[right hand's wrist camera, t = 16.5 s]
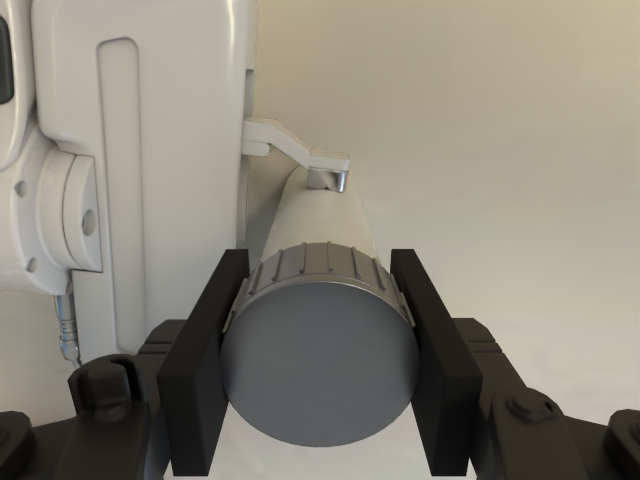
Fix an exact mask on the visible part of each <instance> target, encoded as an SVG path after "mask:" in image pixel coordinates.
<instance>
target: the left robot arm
mask: <svg viewBox="0 0 640 480" xmlns="http://www.w3.org/2000/svg"><path fill="white" fill-rule="evenodd" d="M258 22H259V4H258V1H257V0H0V289H1V290H13V291H22V292H30V293H39V294H48V295H54V301H55V309H56V314H57V318H58V321H59V325H60V330H61V336H60V349H61V352H62V355H63V357H64V358H65V359H66V360H71V361H72V363H73V365H74V366H75V368H76V369H78V368H79V367H81V366H82V365H83V364H85V363H87V362H89V361H91V360H94V359H96V358H98V357H102V356H106V355H110V354H123V353H125V354H129V355H133V356H135V355H136V354H138V351H139V349H140V348H141V346H142V345H143V344H144V342H145V340H146V339H147V337H148V336H149V334H150V333H151V331H152V330H153V329H154V328H155V327H157V326H158V325H160V324H161V323H162V322H164V321H165V320H166V319H188V317H189V315H190V314H191V312H192V310H193V308H194V306H195V304H196V303H197V301H198V299H199V297H200V295H201V294H202V292H203V290H204V288H205V286H206V285H207V283H208V281H209V279H210V277H211V275H212V274H213V272H214V270H215V268H216V266H217V265H218V263H219V261H220V259H221V257H222V256H223V254H224V252H225V250H226V249H244V241H245V225H246V210H247V194H248V179H249V163H250V155H251V156H260V157H267V156H268V155H269V154H270V152H271V151H272V150H273V148H274V146H275V147H276V148H277V149H279V150H280V151H282V152H283V153H284V154H286V155H287V156H289V157H290V158H291V159H293V160H294V161H296V162H297V163H298V164H300V165H301V166H302V167H304V168H305V169H307V170H308V178H307V188H310V189H317V190H320V189H324V188H326V187H327V188H328V189H329V190H330V191H335V192H344V191H345V189H346V183H347V178H348V172H349V165H350V157H349V155H347V154H344V153H339V152H331V151H323V150H315V149H311V146H310V145H309V144H307V143H306V142H305V141H303V140H302V139H301V138H300V137H298V136H297V135H296V134H294V133H293V132H292V131H291V130H289V129H288V128H287V127H285V126H284V125H283V124H281V123H280V122H279V121H278V120H274V119H266V118H258V117H252V116H253V101H254V85H255V69H256V54H257V38H258ZM308 167H309V168H308ZM80 357H81V360H80Z"/></svg>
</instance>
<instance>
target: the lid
mask: <svg viewBox="0 0 640 480" xmlns="http://www.w3.org/2000/svg"><path fill="white" fill-rule="evenodd" d="M415 329H417V328H416V325H415V322H414V320H413V317H412V315H411V312H410V310H409V307H408V304H407V302H406V299H405V297H404V294H403V292H401V293H400V292H399V289H398V286H397V284H396V281H395V278H394V276H393V274H392V273H391V274H389V273H388V272H387V271H386V270H385V269H384V268H383V267H382V266H381V265H380V264H379V263H378V261H377V259H376V258H375V257H374V258H373V259H372V258H371V257H369V256H368V255H366V254H364V253H362V252H360V251H358V250H356V247H353V246H352V248H350V247H347V246H343V245H339V244H333V243H331V241H327V243H308V244H306V242H302V244H301V245H297V246H293V247H289V248H287V249H284V250H282V249H279V250H278V252H277V253H276V254H274V255H272V256H271V257H269V258H268V259H266V260H265V261H264V262H261V261H260V262H259V263H258V264H257V267H256V269H255V270H254V271H253V272H252V273H251V274H250V276H249V277H248V278H247V279H246V278H244V280H243V282H242V285H241V287H240V290H239V292H238V295H237V298H235V300H234V303H233V305H232V308H231V311H230V313H229V316H228V318H227V321H226V324H225V326H224V329H223V331H222V333H223V335H224V337H223V340H222V343H221V346H220V351H219V359H220V369H221V379H222V387H223V390H224V392H225V394H226V396H227V398H228V400H229V401H230V403H231V405H232V406H233V408H234V409H235V410H236V411H237V412H238V413H239V415H240V416H241V417H242V418H243V419H245V420H246V421H247V422H248V423H249V424H250V425H252V426H253V427H255V428H256V429H257V430H259V431H261V432H263V433H264V434H266V435H268V436H270V437H273V438H275V439H277V440H280V441H283V442H287V443H290V444H295V445H300V446H308V447H332V446H340V445H345V444H350V443H353V442H356V441H359V440H363V439H365V438H367V437H369V436H372V435H374V434H376V433H377V432H379V431H381V430H382V429H384V428H385V427H387V426H388V425H389V424H391V423H392V422H393V421H394V420H395V419H396V418H397V417H398V416H400V415H401V413H402V412H403V411H404V410H405V408H406V407H407V406H408V405H409V403H410V401H411V400H412V398H413V396H414V394H415V392H416V389H417V383H418V374H419V365H420V354H421V352H420V347H419V342H418V339H417V337H416V334H415V332H414V330H415Z"/></svg>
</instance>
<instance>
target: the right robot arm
mask: <svg viewBox="0 0 640 480" xmlns="http://www.w3.org/2000/svg"><path fill="white" fill-rule="evenodd" d="M391 273H392V274H393V276H394V278H395V281H396V284H397V286H398V289H399V292H400V293H401V292H403V294H404V297H405V299H406V302H407V304H408V307H409V310H410V312H411V315H412V317H413V320H414V322H415V325H416V328H417V329H415V330H414V332H415V334H416V337H417V339H418V342H419V347H420V352H421V354H420V365H419V374H418V383H417V389H416V392H415V394H414V396H413V398H412V400H411V404H412V408H413V412H414V415H415V419H416V422H417V426H418V429H419V433H420V436H421V440H422V444H423V447H424V451H425V454H426V458H427V461H428V465H429V468H430V472H431V476H466V473H467V468H468V462H469V457H470V460H471V463H472V465H473V468H474V470H475V473H476V475H477V479H476V480H640V411H639V410H631V409H625V410H619V411H616V412H615V413H614V414H613V415H612V416H611V417H610V420H609V423H608V426H605V425H601V424H597V423H592V422H588V421H584V420H579V419H575V418H572V417H568V416H565V415H564V414H563V412H562V411H561V409H560V408H559V406H558V405H557V404H556V403H555V402H554V401H553V400H551V399H550V398H549V397H548V396H547V395H545V394H543V393H541V392H539V391H537V390H535V389H532V388H528V387H526V385H525V384H524V382H523V381H522V379H521V378H520V376H519V375H518V373H517V372H516V370H515V369H514V367H513V366H512V364H511V363H510V361H509V360H508V358H507V357H506V355H505V354H504V353H502V349H501V348H500V346H499V345H498V343H496V342H495V339H494V338H493V336H492V335H491V333H490V332H489V330H488V329H487V328H486V327H485V326H483V325H482V324H481V323H479V322H478V321H476V320H475V319H474V318H451V316H450V314H449V313H448V311H447V309H446V307H445V305H444V303H443V302H442V300H441V298H440V296H439V294H438V293H437V291H436V289H435V287H434V285H433V284H432V282H431V280H430V278H429V276H428V274H427V273H426V271H425V269H424V267H423V265H422V264H421V262H420V260H419V258H418V256H417V255H416V253H415V251H414V249H392V250H391V265H390V274H391ZM249 276H250V271H249V257H248V249H226V250H225V252H224V254H223V256H222V257H221V259H220V261H219V263H218V265H217V266H216V268H215V270H214V272H213V274H212V275H211V277H210V279H209V281H208V283H207V285H206V286H205V288H204V290H203V292H202V294H201V295H200V297H199V299H198V301H197V303H196V304H195V306H194V308H193V310H192V312H191V314H190V315H189V317H188V319H166V320H165V321H164V322H162V323H161V324H160V325H158V326H157V327H155V328H154V329H153V330H152V331H151V333H150V334H149V336H148V337H147V339H146V340H145V342H144V344H143V345H142V346H141V348H140V349H139V351H138V354H136V355H135V356H133V355H129V354H125V353H123V354H110V355H106V356H102V357H98V358H96V359H94V360H91V361H89V362H87V363H85V364H83V365H82V366H81V367H79V368H78V369H77V370H75V371H74V372H73V373H72V375H71V376H70V377H69V379H68V380H67V381H68V384H69V388H70V392H71V395H72V399H73V403H74V406H75V410H76V414H77V415H76V417H74V418H70V419H67V420H64V421H59V422H55V423H51V424H46V425H42V426H38V427H34V428H32V425H31V422H30V419H29V417H27V416H26V415H25V414H24V413H22V412H16V411H8V412H0V480H164V479H163V476H164V474H165V471H166V469H167V466H168V463H169V461H170V459H171V464H172V470H173V476H208V474H209V470H210V467H211V463H212V460H213V456H214V453H215V449H216V446H217V442H218V438H219V435H220V431H221V428H222V424H223V421H224V417H225V414H226V410H227V407H228V403H229V400H228V398H227V396H226V394H225V392H224V390H223V387H222V379H221V369H220V359H219V351H220V346H221V343H222V340H223V337H224V335H223V333H222V331H223V329H224V326H225V324H226V321H227V318H228V316H229V313H230V311H231V308H232V305H233V303H234V300H235V298H237V295H238V292H239V290H240V287H241V285H242V282H243V280H244V278H246V279H247V278H248V277H249Z"/></svg>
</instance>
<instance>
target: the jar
mask: <svg viewBox="0 0 640 480" xmlns="http://www.w3.org/2000/svg"><path fill="white" fill-rule="evenodd" d="M308 168H309V167H308ZM307 178H308V170H307V169H305V168H304V167H302V166H301V165H300V166H298V167H297V168H296V169H295V170H294V171H293V172H292V173H291V175H290V176H289V178H288V180H287V182H286V185H285V188H284V191H283V194H282V197H281V200H280V203H279V206H278V209H277V212H276V215H275V218H274V221H273V224H272V227H271V230H270V233H269V236H268V239H267V242H266V245H265V248H264V251H263V254H262V257H261V260H260V261H261V262H264V261H265V260H266V259H268V258H269V257H271V256H272V255H274V254H276V253H277V252H278V250H279V249H282V250H284V249H287V248H289V247H293V246H297V245H301V244H302V242H306V244H308V243H327V241H331V243H333V244H339V245H343V246H347V247H350V248H352V246H353V247H356V250H358V251H360V252H362V253H364V254H366V255H368V256H369V257H371V258H372V259H373V258H374V257H375V258H376V259H377V261H378V263H379V264H380V265H381V263H380V260H379V257H378V254H377V251H376V248H375V245H374V242H373V239H372V236H371V233H370V230H369V227H368V224H367V221H366V218H365V215H364V212H363V209H362V206H361V202H360V199H359V196H358V193H357V190H356V187H355V184H354V182H353V179H352V178H351V176H350V174H349V173H348V178H347V183H346V189H345V191H344V192H335V191H330V190H329V189H328V188H327V187H326V188H324V189H320V190H317V189H310V188H307Z"/></svg>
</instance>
